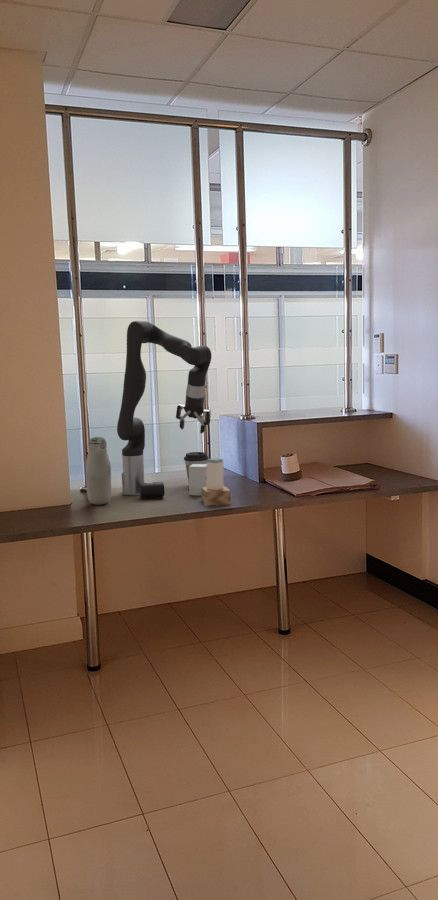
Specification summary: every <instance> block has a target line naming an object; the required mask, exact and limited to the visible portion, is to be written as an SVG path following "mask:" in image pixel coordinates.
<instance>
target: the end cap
mask: <svg viewBox="0 0 438 900" xmlns="http://www.w3.org/2000/svg"><path fill="white" fill-rule="evenodd" d="M139 487H140V495H139V498H140V499H141V500H148V499H149V500H150V499H151V500H152V499H161V498H163V497H164V496H165V493H166V492H165V483H164V482H163V481H154V482H145V483H141V484H139Z"/></svg>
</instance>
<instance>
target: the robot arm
mask: <svg viewBox="0 0 438 900" xmlns="http://www.w3.org/2000/svg"><path fill="white" fill-rule="evenodd" d="M148 343H150V344H154V345H158V346H160V347H162V348H163V349H164V350H165V351H167V352H168V353H170V354H172V355H174V356H176V357H179V358H181V359H182V360H183V361H184V362H185V363H187V364H189V365H191V366H193V367H192V368H191V369H190V370H189V371H188V374H187V375H188V376H187V384H186V390H185V402H184V403H185V404H184V405H183V404H182V403H179V404H178V405H177V407H176V414H175V418H176V419H177V420H179V427H180V430H184V429H185V421H186V420H185V419H186V417H188V418H193V419H195V420H196V419H197V421H198V422H199V423H200V432H199V433H200V434H203V433H204V432H205V431H206V426H209V424H211V415H212V414H211V412H212V411H211V409H204V406H205V405H204V403H205V393H206V376H207V373H208V370H209V367H210V365H211V362H212V351H211V348H210V347H209V346H207V345H199V346H195V347H192V344H191V343H190V342H189V341H188V340H186V339H183V338H181V337H178V336H175V335H173V334H170V333H168V332H166V331H165V330H163V329H161V328H159V327H158V326H156V324H153V323H152V322H150V321H147V320H145V321H144V320H134V321H131V322H130V323H129V325H128V326H127V330H126V356H125V357H126V359H125V371H124V376H123V377H124V378H123V385H122V386H123V390H122V397H121V405H120V410H119V416H118V419H117V425H116V433H117V435H118V437H119V439H121V441H128V442H127V444H126V445H125V446H124V447H123V448H122V449H121V459H122V460H121V461H122V472H121V488H122V495H124V496H125V495H126V496H140V487H139V484H141V483H146V482H145V464H144V463H145V461H144V460H145V459H144V450H145V447H146V446H145V445H146V444H145V443H146V430H145V429H146V428H145V425H144V421H143V420H142V419H141V418H139V417H134V416H135V411H136V409H137V406H138V404H139V403H140V402H141V401H140V400H141V399H142V398H143V395H144V393H145V389H146V383H147V370H146V368H145V366H144V364H143V363H144V362H143V361H142V356H141V355H142V344H148ZM183 410H184V412H185V413H184V414H183V415H181V414H182V411H183ZM203 414H204V415H205V417H204V415H203Z"/></svg>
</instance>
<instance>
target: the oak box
mask: <svg viewBox="0 0 438 900" xmlns="http://www.w3.org/2000/svg"><path fill="white" fill-rule="evenodd" d="M231 499H232V497H231V489H230V488H228V487H227V486H226V485H223V489H219V490H211V489H207V487H202V495H201V502H202V501H203V502H204V503H205V504H206V505H205V504H204V503H203V502H202V503H203V504H204V505H205V507H210V506H209V505H216V506H225V505H226V506H227V505H231V504H232V501H231Z"/></svg>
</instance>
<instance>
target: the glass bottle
mask: <svg viewBox="0 0 438 900" xmlns="http://www.w3.org/2000/svg"><path fill="white" fill-rule="evenodd" d="M87 445H88V451H87V458H86V463H85V466H84V467H85V482H86V484H85V485H86V486H85V487H86V495H87V499H88V501H89V503H91V504H92V505H96V506H98V505H99V506H100V505H105V504H107V503H109V502H110V500H111V499H112V466H111V461H110V458H109V454H108V450H107V441H106V438H104V437H102V436H100V437H99V436H94V437H92V438H90V439H89V440H88V444H87Z"/></svg>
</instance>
